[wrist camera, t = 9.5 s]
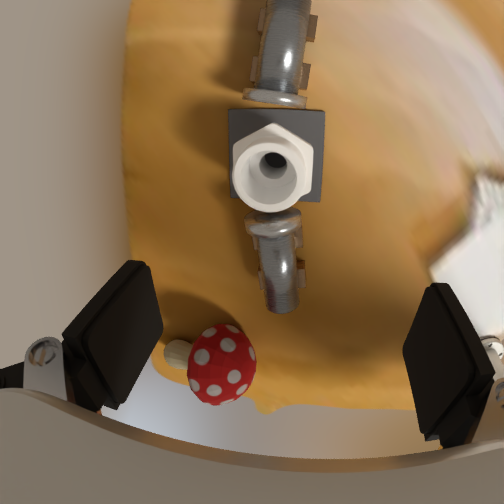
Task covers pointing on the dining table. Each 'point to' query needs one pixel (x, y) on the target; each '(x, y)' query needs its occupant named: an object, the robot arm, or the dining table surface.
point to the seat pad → (295, 121)
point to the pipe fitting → (272, 169)
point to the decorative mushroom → (215, 363)
